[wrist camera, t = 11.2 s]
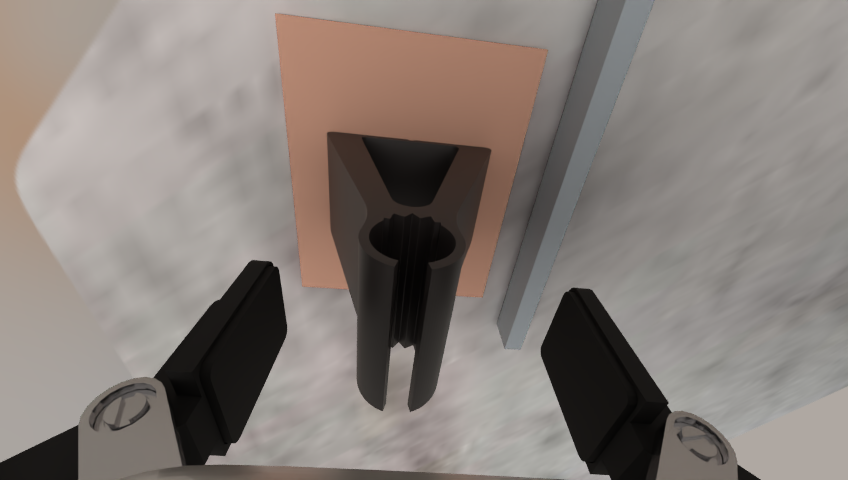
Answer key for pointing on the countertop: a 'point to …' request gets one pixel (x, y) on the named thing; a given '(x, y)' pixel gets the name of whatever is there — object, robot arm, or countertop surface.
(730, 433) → the countertop surface
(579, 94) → the acrylic wall
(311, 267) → the mat
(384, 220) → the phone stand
